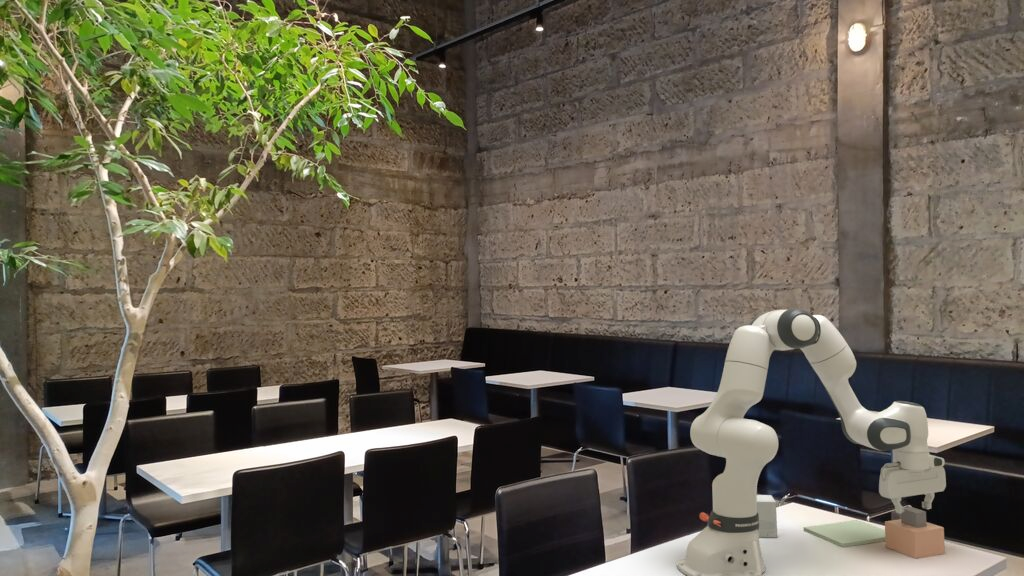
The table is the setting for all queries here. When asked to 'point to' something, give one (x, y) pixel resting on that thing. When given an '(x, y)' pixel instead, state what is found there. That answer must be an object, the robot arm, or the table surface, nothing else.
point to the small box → (767, 516)
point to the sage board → (848, 533)
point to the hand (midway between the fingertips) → (913, 510)
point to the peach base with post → (914, 535)
